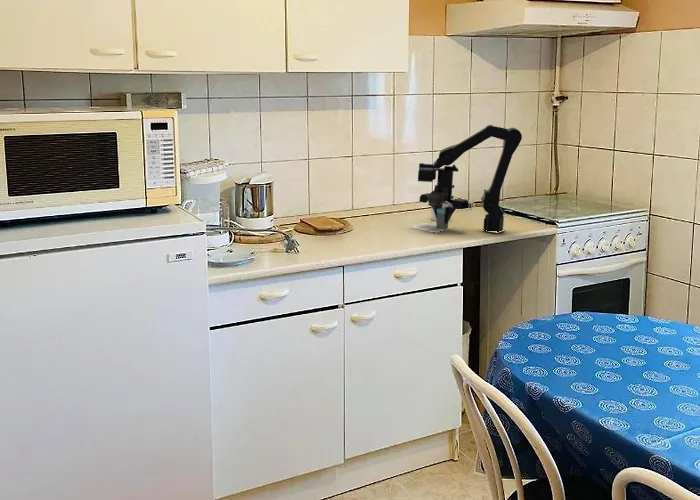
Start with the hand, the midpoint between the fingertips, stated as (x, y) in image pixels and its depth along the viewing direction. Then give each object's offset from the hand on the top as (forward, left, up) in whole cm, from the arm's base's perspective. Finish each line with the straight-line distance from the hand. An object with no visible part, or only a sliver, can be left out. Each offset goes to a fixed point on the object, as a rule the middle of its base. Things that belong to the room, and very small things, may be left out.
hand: (442, 223), depth 292 cm
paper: (+4, +2, -2) cm, 5 cm away
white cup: (+10, -14, -2) cm, 17 cm away
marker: (0, 0, -2) cm, 2 cm away
